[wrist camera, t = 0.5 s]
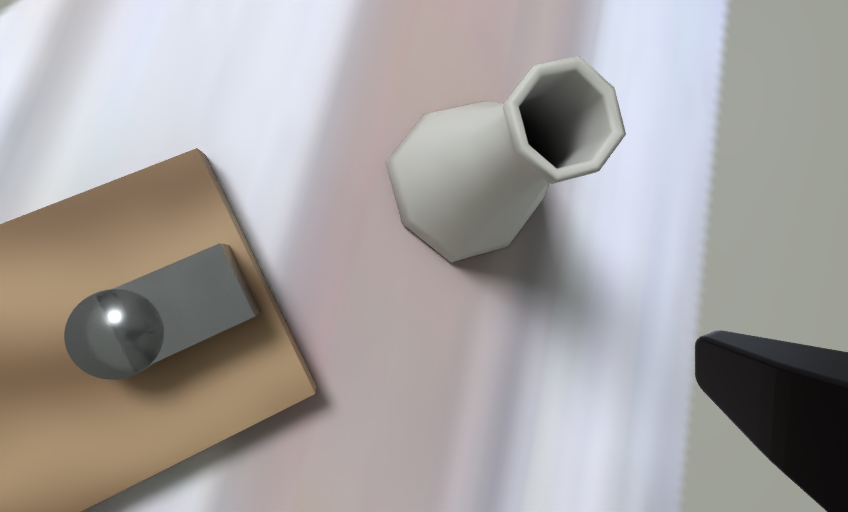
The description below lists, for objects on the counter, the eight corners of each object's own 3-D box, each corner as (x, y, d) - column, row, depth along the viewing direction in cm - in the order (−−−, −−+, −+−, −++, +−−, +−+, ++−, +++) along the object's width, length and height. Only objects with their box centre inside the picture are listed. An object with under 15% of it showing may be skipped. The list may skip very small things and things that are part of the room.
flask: (485, 77, 22) (603, -69, 12) (564, 206, 23) (736, 163, 13) (357, 156, 21) (374, 64, 11) (444, 289, 22) (532, 312, 12)
